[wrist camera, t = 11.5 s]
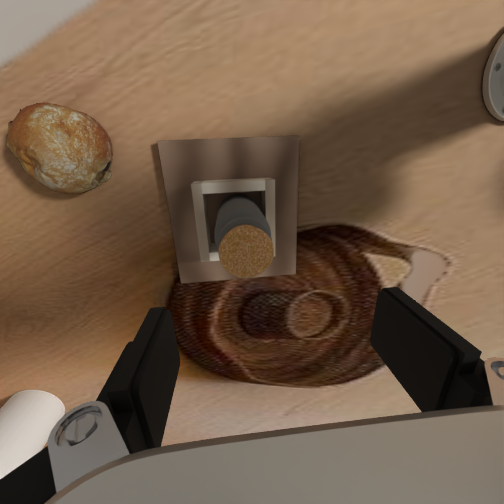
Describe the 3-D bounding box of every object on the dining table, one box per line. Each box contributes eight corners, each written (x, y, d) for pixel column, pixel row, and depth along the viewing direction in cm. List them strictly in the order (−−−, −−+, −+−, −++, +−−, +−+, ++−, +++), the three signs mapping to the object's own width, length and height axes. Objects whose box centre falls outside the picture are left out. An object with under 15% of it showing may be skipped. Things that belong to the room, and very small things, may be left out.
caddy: (296, 136, 32) (309, 132, 28) (293, 270, 40) (303, 286, 35) (159, 141, 31) (147, 138, 26) (182, 279, 38) (176, 297, 33)
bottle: (213, 228, 35) (204, 275, 21) (223, 188, 33) (221, 210, 19) (251, 239, 36) (268, 290, 22) (264, 200, 34) (290, 230, 20)
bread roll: (103, 194, 36) (104, 213, 30) (7, 167, 30) (-15, 185, 24) (120, 127, 33) (125, 133, 27) (18, 82, 27) (-4, 78, 21)
